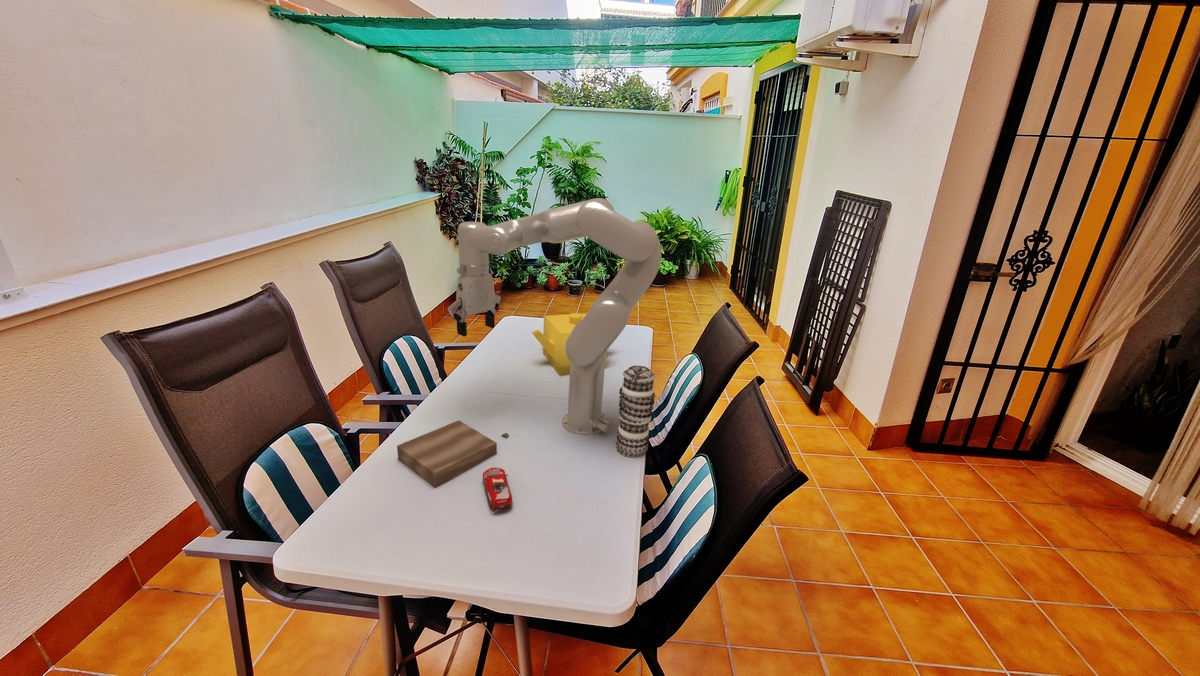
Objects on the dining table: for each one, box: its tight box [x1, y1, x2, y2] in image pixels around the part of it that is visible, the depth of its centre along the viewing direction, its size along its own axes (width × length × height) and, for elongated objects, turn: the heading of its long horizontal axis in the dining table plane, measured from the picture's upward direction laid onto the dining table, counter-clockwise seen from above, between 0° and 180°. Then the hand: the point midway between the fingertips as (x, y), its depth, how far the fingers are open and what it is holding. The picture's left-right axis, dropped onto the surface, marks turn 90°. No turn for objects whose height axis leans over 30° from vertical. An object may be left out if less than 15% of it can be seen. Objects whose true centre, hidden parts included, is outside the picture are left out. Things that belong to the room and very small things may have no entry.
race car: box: [482, 467, 513, 511], centre depth 112 cm, size 13×5×4 cm, turn 20°
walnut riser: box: [396, 419, 498, 489], centre depth 124 cm, size 16×18×4 cm
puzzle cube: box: [501, 432, 510, 439], centre depth 132 cm, size 4×3×2 cm, turn 147°
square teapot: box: [531, 312, 608, 377], centre depth 176 cm, size 35×30×21 cm
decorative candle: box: [615, 365, 656, 459], centre depth 126 cm, size 9×9×25 cm
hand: (476, 330), depth 136 cm, fingers open, 9 cm apart
